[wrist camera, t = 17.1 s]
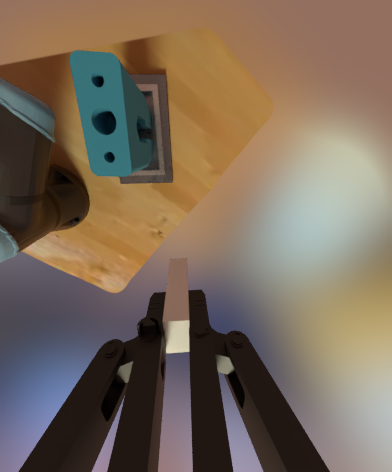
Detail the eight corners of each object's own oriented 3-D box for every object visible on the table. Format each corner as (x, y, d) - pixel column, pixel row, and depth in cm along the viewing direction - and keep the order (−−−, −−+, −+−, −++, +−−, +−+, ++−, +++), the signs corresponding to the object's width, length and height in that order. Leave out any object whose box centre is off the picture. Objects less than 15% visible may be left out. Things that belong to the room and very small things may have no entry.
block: (124, 99, 36) (67, 49, 18) (150, 100, 37) (118, 53, 19) (131, 164, 42) (91, 175, 23) (154, 165, 42) (132, 176, 24)
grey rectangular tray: (122, 183, 44) (118, 185, 41) (103, 76, 36) (96, 70, 33) (172, 181, 45) (172, 183, 42) (165, 76, 36) (164, 70, 33)
